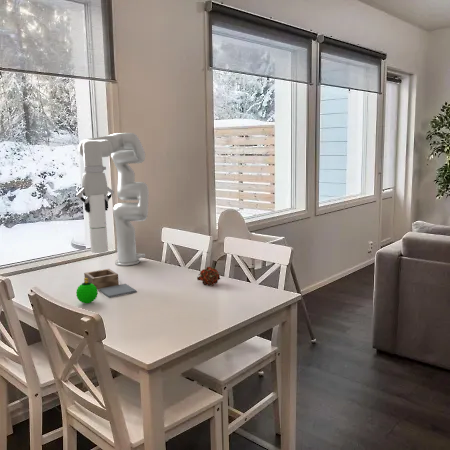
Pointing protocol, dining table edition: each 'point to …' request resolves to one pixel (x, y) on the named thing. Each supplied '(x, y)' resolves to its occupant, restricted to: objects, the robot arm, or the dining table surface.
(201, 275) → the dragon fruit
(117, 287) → the mat
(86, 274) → the box
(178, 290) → the dining table surface
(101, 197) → the cylindrical container
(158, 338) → the dining table surface
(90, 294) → the ornament
